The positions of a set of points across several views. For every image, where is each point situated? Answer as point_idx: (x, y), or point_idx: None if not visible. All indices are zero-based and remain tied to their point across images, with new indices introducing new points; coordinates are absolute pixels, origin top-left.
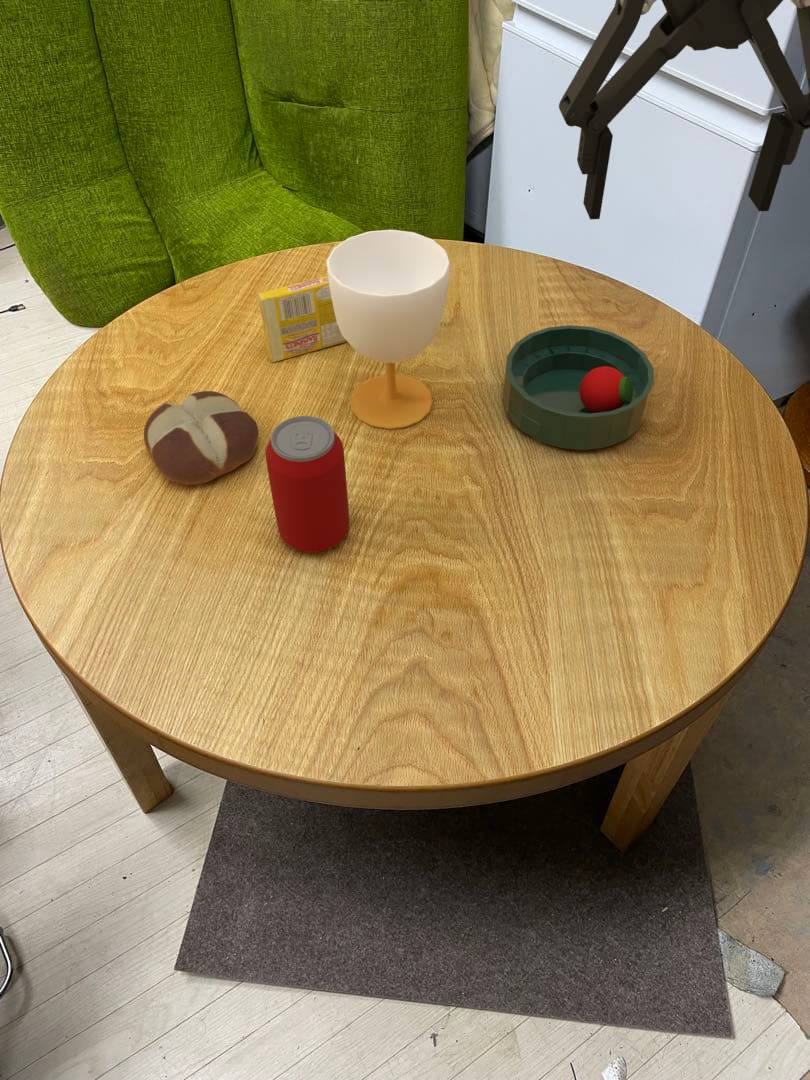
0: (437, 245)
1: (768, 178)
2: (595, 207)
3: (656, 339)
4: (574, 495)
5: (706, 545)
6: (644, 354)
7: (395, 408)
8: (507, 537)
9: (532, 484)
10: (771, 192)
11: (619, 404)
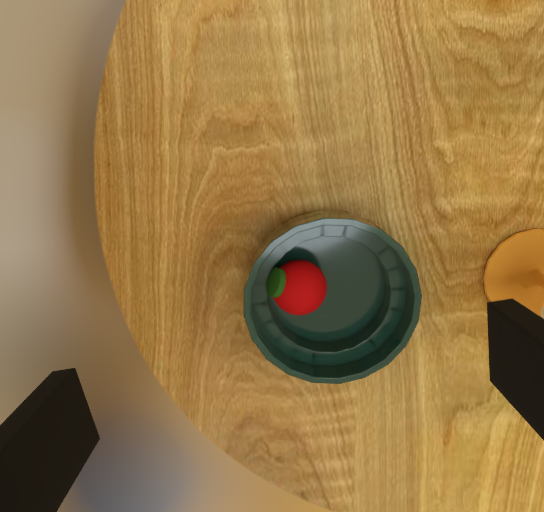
0: None
1: (27, 427)
2: (522, 313)
3: (228, 401)
4: (331, 143)
5: (193, 80)
6: (252, 337)
7: (528, 259)
8: (408, 68)
9: (376, 156)
10: (30, 399)
11: (282, 265)
